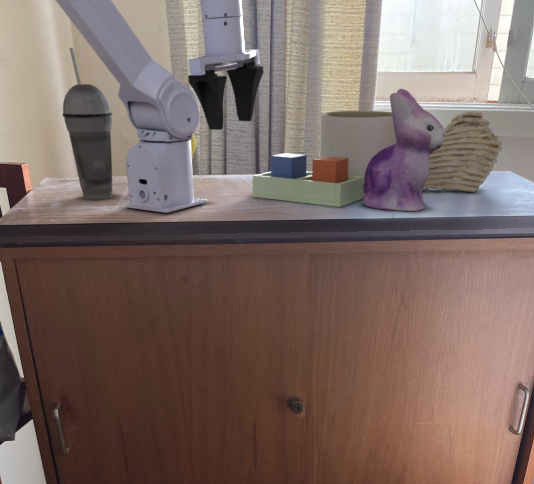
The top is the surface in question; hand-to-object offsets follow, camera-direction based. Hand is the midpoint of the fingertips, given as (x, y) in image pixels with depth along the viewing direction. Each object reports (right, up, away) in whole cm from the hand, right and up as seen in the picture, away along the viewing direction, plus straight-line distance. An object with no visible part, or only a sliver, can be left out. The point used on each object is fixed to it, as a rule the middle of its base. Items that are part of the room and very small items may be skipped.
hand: (231, 124), depth 104 cm
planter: (+20, -6, +10) cm, 23 cm away
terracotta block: (+15, -10, +1) cm, 18 cm away
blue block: (+9, -8, +4) cm, 13 cm away
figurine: (+25, -14, -3) cm, 28 cm away
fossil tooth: (+36, -7, +8) cm, 37 cm away
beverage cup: (-21, -9, +4) cm, 24 cm away
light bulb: (-9, -5, +12) cm, 16 cm away
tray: (+12, -10, +3) cm, 16 cm away
